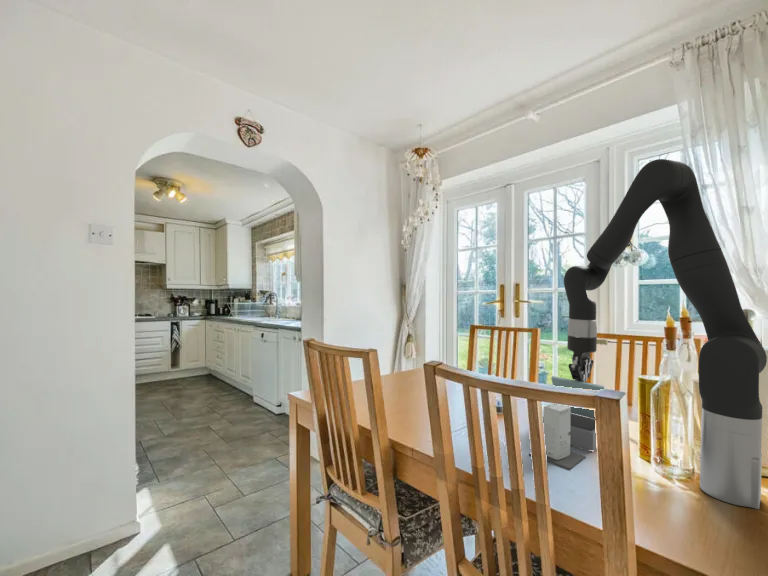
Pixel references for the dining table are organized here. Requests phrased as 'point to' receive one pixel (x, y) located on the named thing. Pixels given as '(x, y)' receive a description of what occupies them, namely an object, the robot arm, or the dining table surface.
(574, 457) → the rubber mat
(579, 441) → the grey open box
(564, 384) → the lid
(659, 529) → the dining table surface
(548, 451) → the skincare box
